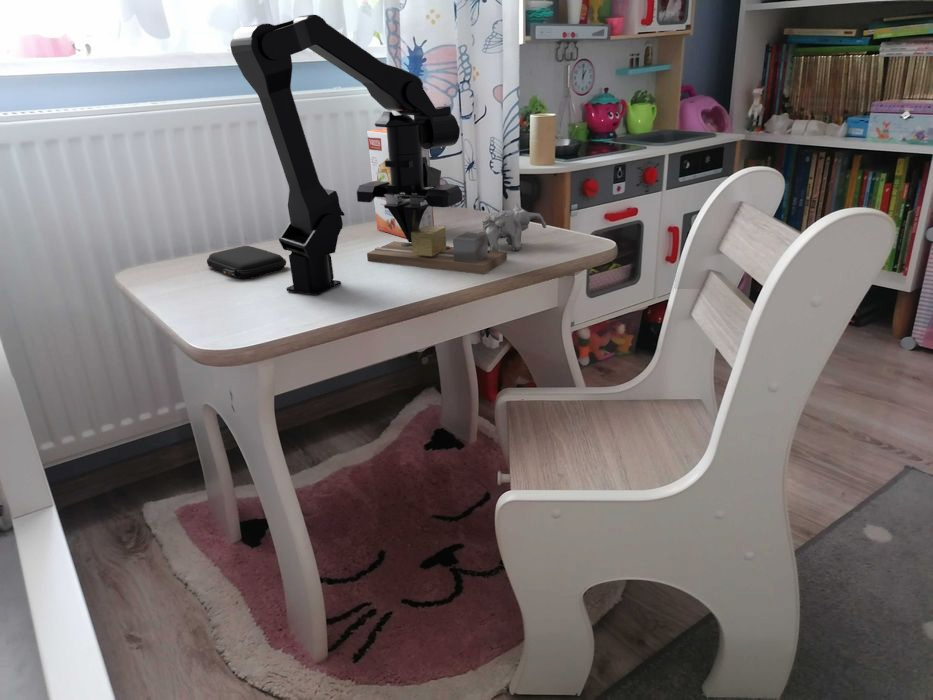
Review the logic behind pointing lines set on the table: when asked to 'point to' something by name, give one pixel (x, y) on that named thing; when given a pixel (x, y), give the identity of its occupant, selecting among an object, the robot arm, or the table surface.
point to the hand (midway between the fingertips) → (412, 241)
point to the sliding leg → (428, 240)
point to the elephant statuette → (508, 226)
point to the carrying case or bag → (246, 262)
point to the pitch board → (445, 255)
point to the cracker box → (382, 173)
